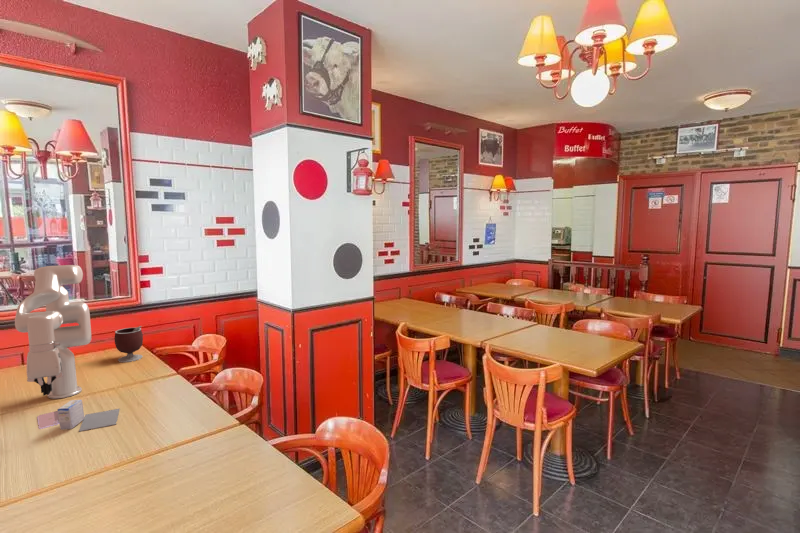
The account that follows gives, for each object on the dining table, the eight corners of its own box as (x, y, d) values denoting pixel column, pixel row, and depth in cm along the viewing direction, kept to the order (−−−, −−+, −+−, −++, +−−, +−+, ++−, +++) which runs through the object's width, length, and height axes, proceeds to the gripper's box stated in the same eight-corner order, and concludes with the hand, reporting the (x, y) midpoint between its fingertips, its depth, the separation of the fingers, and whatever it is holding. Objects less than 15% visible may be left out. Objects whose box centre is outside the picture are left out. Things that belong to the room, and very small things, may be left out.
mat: (85, 415, 179) (85, 414, 179) (119, 409, 185) (119, 408, 185) (78, 431, 165) (78, 431, 165) (116, 424, 171) (115, 424, 171)
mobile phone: (60, 409, 184) (63, 421, 173) (60, 411, 184) (63, 424, 173) (36, 415, 178) (38, 428, 167) (37, 417, 179) (39, 430, 168)
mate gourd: (110, 362, 245) (107, 328, 243) (129, 354, 259) (126, 322, 257) (134, 363, 243) (131, 329, 241) (152, 355, 257) (149, 323, 254)
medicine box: (73, 420, 175) (70, 400, 174) (85, 419, 175) (82, 399, 174) (60, 430, 167) (56, 409, 166) (72, 429, 167) (69, 408, 166)
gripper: (68, 342, 171) (72, 387, 172) (19, 347, 164) (24, 394, 165) (65, 346, 164) (69, 393, 166) (13, 352, 157) (18, 401, 159)
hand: (46, 393), depth 166 cm, fingers closed
